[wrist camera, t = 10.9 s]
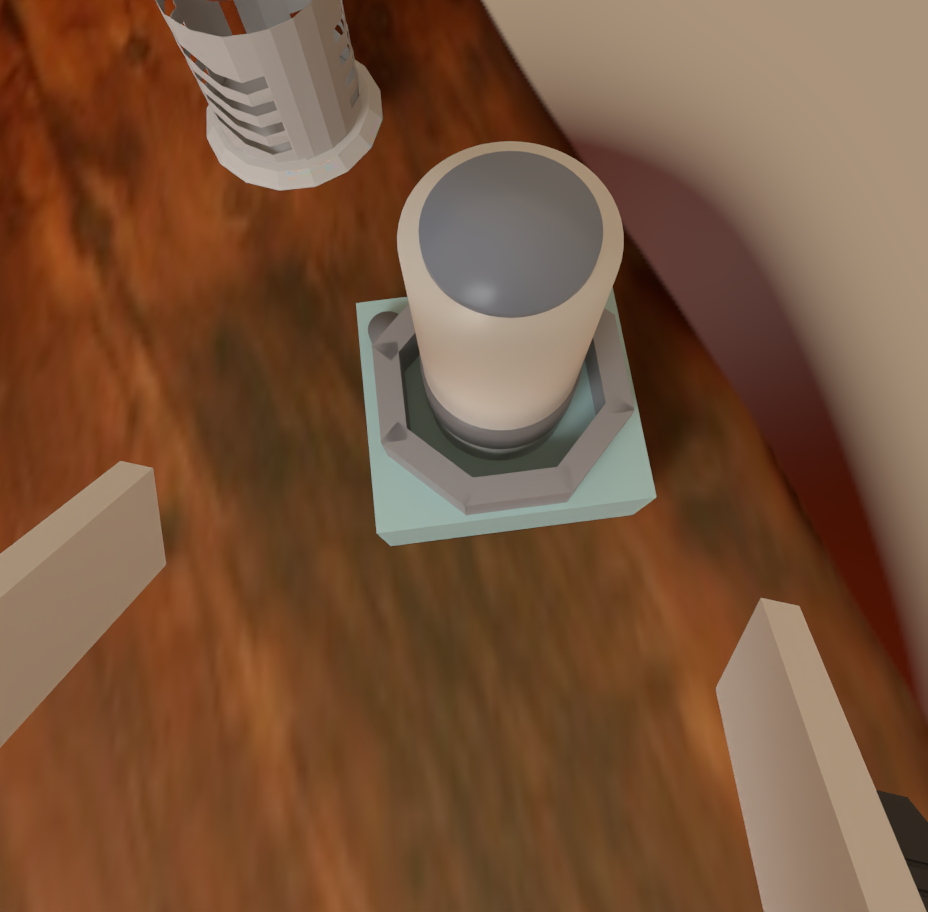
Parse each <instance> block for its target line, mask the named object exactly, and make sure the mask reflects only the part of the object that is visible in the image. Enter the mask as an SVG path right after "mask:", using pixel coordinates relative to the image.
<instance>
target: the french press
mask: <svg viewBox="0 0 928 912" xmlns="http://www.w3.org/2000/svg"><path fill="white" fill-rule="evenodd" d="M155 1H156V3H157V5H158V7H159V9H160V11H161V13H162V15H163V17H164V19H165V20H166V22H167V24H168V25H169V27H170V29H171V31H172V33H173V35H174V37H175V40H176V42H177V44H178V46H179V47H180V45H181V46H183V47H184V52H183V50H182V48H181V47H180V49H181V51H182V52H183V54H184V56H185V58H186V60H187V63H188V65H189V67H190V69H191V71H192V72H193V70H194V71H195V72H196V75H195V74H194V72H193V74H194V76H195V77H196V80H197V82H198V84H199V86H200V88H201V90H202V92H203V94H204V95H205V97H206V99H207V102H208V103H209V105H208V107H207V139H208V141H209V143H210V145H211V147H212V149H213V151H214V153H215V155H216V156H217V158H218V160H219V162H220V164H221V165H223V166H224V167H226V168H227V169H228V170H230V171H231V172H232V173H234V174H235V175H236V176H238V177H239V178H241V179H242V180H243V181H245V182H246V183H251V184H255V185H259V186H263V187H267V188H271V189H275V190H279V191H280V190H289V189H299V188H308V187H316V186H318V185H320V184H322V183H324V182H327V181H329V180H331V179H333V178H335V177H337V176H339V175H341V174H344V173H346V172H348V171H349V170H350V169H351V168H352V167H353V166H354V165H355V164H356V163H357V162H358V161H359V160H360V159H361V158H362V157H363V156H364V155H365V154H366V153H367V152H368V151H369V150H370V149H371V148H372V145H373V143H374V140H375V138H376V135H377V132H378V130H379V127H380V125H381V122H382V120H383V116H382V104H381V93H380V89H379V88H378V86H377V85H376V83H375V81H374V80H373V78H372V77H371V75H370V73H369V72H368V70H367V69H366V67H365V66H364V65H362V64H361V63H359V62H358V61H356V60H355V59H354V53H353V48H352V46H351V42H350V36H349V31H348V25H347V23H346V19H345V14H344V8H343V3H342V0H234V2H235V5H236V7H237V10H238V12H239V15H240V18H241V20H242V23H243V25H244V28H245V30H246V33H247V34H243V35H234V36H233V35H232V33H231V30H230V28H229V26H228V23H227V21H226V19H225V16H224V14H223V11H222V9H221V7H220V4H219V2H218V1H225V0H173V2H174V4H175V6H176V8H175V9H174V11H173V12H172V13H171V15H170V17H168V16H167V15H165V9H164V1H165V0H155ZM341 7H342V11H343V14H342V11H341ZM302 9H303V10H302ZM299 10H301V11H300V12H299V13H298V14H297V15H296V16H294V17H293V18H291V16H290V13H293V12H296V11H299ZM341 19H343V21H344V27H343V25H342V23H341ZM182 23H184V25H185V26H183V25H181V24H182ZM337 25H339V26H340V27H341V29H342V31H343V34H342V35H340V34H339V33H338V32H337V31H336V30H335V27H336V26H337ZM344 29H345V30H344ZM347 33H348V37H347ZM179 44H180V45H179ZM347 44H349V49H350V52H349V49H348V47H347ZM190 53H191V54H192V55H193V56H195V57H196V58H197V61H196V62H195V63H194V62H193V61H192V60H191V59H190ZM352 56H353V58H352ZM205 68H206V69H207V71H208V73H209V75H210V76H208V75H207V74H206V73H204V72H203V71H204V70H205ZM192 69H193V70H192ZM201 77H202V78H203V79H204V80H206V81H207V82H206V84H205V85H204V84H203V83H202V78H201ZM205 93H206V94H205Z"/></svg>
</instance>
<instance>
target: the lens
mask: <svg viewBox="0 0 928 912" xmlns="http://www.w3.org/2000/svg"><path fill="white" fill-rule="evenodd" d="M397 246H398V255H399V260H400V265H401V269H402V274H403V278H404V283H405V288H406V292H407V297H408V301H409V306H410V310H411V315H412V320H413V324H414V329H415V333H416V338H417V342H418V347H419V352H420V355H419V358H420V369H421V374H422V379H423V383H424V387H425V392H426V396H427V399H428V402H429V405H430V407H431V409H432V411H433V415H434V418H435V420H436V422H437V424H438V426H439V428H440V430H441V431H442V433H443V434H444V435H445V437H446V438H447V439H448V440H449V441H450V442H451V443H452V444H454V445H455V446H456V447H457V448H459V449H460V450H462V451H464V452H465V453H468V454H470V455H472V456H475V457H478V458H481V459H486V460H497V461H501V460H510V459H515V458H519V457H522V456H525V455H527V454H529V453H531V452H533V451H535V450H536V449H538V448H539V447H541V446H542V445H543V444H544V443H545V442H546V441H547V440H548V439H549V438H550V437H551V436H552V435H553V433H554V432H555V430H556V429H557V427H558V425H559V423H560V421H561V419H562V417H563V416H564V414H565V413H566V411H567V409H568V407H569V405H570V403H571V400H572V398H573V395H574V393H575V390H576V388H577V385H578V382H579V379H580V376H581V371H582V365H583V361H584V359H585V356H586V354H587V351H588V348H589V346H590V343H591V341H592V338H593V336H594V333H595V330H596V328H597V325H598V323H599V320H600V317H601V315H602V312H603V310H604V307H605V305H606V302H607V299H608V297H609V294H610V292H611V289H612V286H613V284H614V281H615V279H616V276H617V273H618V270H619V267H620V264H621V261H622V255H623V248H624V233H623V226H622V220H621V217H620V214H619V211H618V208H617V206H616V204H615V202H614V199H613V197H612V196H611V194H610V193H609V191H608V190H607V188H606V187H605V185H604V184H603V183H602V182H601V181H600V179H599V178H598V177H597V176H596V175H595V174H594V173H593V172H592V171H590V170H589V169H588V168H587V167H586V166H584V165H583V164H582V163H580V162H579V161H577V160H576V159H574V158H572V157H570V156H568V155H567V154H565V153H563V152H560V151H558V150H555V149H552V148H550V147H546V146H542V145H539V144H534V143H527V142H514V141H505V142H493V143H487V144H482V145H478V146H474V147H471V148H468V149H465V150H463V151H460V152H458V153H456V154H454V155H452V156H450V157H448V158H447V159H445V160H443V161H442V162H440V163H439V164H438V165H436V166H435V167H434V168H432V169H431V170H430V171H429V172H428V173H427V174H426V175H425V176H424V177H423V178H422V179H421V180H420V181H419V182H418V184H417V185H416V186H415V188H414V189H413V190H412V192H411V194H410V195H409V197H408V199H407V201H406V203H405V205H404V208H403V210H402V213H401V217H400V221H399V224H398V234H397Z"/></svg>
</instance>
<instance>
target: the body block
mask: <svg viewBox="0 0 928 912" xmlns="http://www.w3.org/2000/svg"><path fill="white" fill-rule="evenodd" d="M356 309H357V320H358V331H359V343H360V354H361V365H362V376H363V387H364V398H365V409H366V420H367V431H368V442H369V454H370V465H371V476H372V487H373V498H374V509H375V520H376V531H377V534H378V535H379V536H380V537H381V538H382V539H383V540H385V541H386V542H387V543H388V544H389V545H390V546H395V545H403V544H411V543H418V542H426V541H434V540H442V539H449V538H457V537H465V536H473V535H480V534H488V533H496V532H504V531H511V530H519V529H527V528H535V527H542V526H550V525H558V524H565V523H573V522H581V521H589V520H596V519H604V518H612V517H620V516H627V515H633V514H635V513H636V512H637V511H639V510H640V509H641V508H643V507H644V506H645V505H647V504H648V503H650V502H651V501H652V500H654V499H655V498H656V492H655V487H654V482H653V478H652V473H651V468H650V463H649V458H648V454H647V449H646V444H645V439H644V435H643V430H642V425H641V420H640V415H639V411H638V406H637V401H636V396H635V392H634V387H633V382H632V377H631V372H630V368H629V363H628V358H627V353H626V349H625V344H624V339H623V334H622V330H621V325H620V320H619V315H618V310H617V306H616V301H615V296H614V291H613V287H612V289H611V292H610V294H609V297H608V299H607V302H606V305H605V307H604V310H603V312H602V315H601V317H600V320H599V323H598V325H597V328H596V330H595V333H594V336H593V338H592V341H591V343H590V346H589V348H588V351H587V354H586V356H585V359H584V361H583V365H582V371H581V376H580V379H579V382H578V385H577V388H576V390H575V393H574V395H573V398H572V400H571V403H570V405H569V407H568V409H567V411H566V413H565V414H564V416H563V417H562V419H561V421H560V423H559V425H558V427H557V429H556V430H555V432H554V433H553V435H552V436H551V437H550V438H549V439H548V440H547V441H546V442H545V443H544V444H543V445H542V446H541V447H539V448H538V449H536V450H535V451H533V452H531V453H529V454H527V455H525V456H522V457H519V458H515V459H510V460H501V461H497V460H486V459H481V458H478V457H475V456H472V455H470V454H468V453H465V452H464V451H462V450H460V449H459V448H457V447H456V446H455V445H454V444H452V443H451V442H450V441H449V440H448V439H447V438H446V437H445V435H444V434H443V433H442V431H441V430H440V428H439V426H438V424H437V422H436V420H435V418H434V415H433V411H432V409H431V407H430V405H429V402H428V399H427V396H426V392H425V387H424V383H423V379H422V374H421V369H420V358H419V355H420V352H419V347H418V342H417V338H416V333H415V329H414V324H413V320H412V315H411V310H410V306H409V301H408V297H401V298H393V299H385V300H377V301H369V302H361V303H356Z"/></svg>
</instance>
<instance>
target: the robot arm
mask: <svg viewBox="0 0 928 912" xmlns="http://www.w3.org/2000/svg"><path fill="white" fill-rule="evenodd" d="M165 565H166V560H165V553H164V545H163V538H162V531H161V523H160V516H159V508H158V501H157V493H156V486H155V479H154V471H153V468H151V467H146V466H142V465H137V464H132V463H127V462H123V461H120V462H118V463H117V464H116V465H115V466H113V467H112V468H111V469H109V470H108V471H107V472H106V473H104V474H103V475H102V476H100V477H99V478H98V479H96V480H95V481H94V482H93V483H91V484H90V485H89V486H87V487H86V488H85V489H84V490H82V491H81V492H80V493H78V494H77V495H76V496H75V497H73V498H72V499H71V500H69V501H68V502H67V503H65V504H64V505H63V506H62V507H60V508H59V509H58V510H56V511H55V512H54V513H53V514H51V515H50V516H49V517H47V518H46V519H45V520H44V521H42V522H41V523H40V524H38V525H37V526H36V527H34V528H33V529H32V530H31V531H29V532H28V533H27V534H25V535H24V536H23V537H22V538H20V539H19V540H18V541H16V542H15V543H14V544H13V545H11V546H10V547H9V548H7V549H6V550H5V551H3V552H2V553H1V554H0V747H1V746H2V745H3V744H4V743H5V742H6V741H7V740H8V738H9V737H10V736H11V735H12V734H13V733H14V732H15V731H16V730H17V728H18V727H19V726H20V725H21V724H22V723H23V722H24V721H25V720H26V719H27V717H28V716H29V715H30V714H31V713H32V712H33V711H34V710H35V709H36V708H37V706H38V705H39V704H40V703H41V702H42V701H43V700H44V699H45V698H46V696H47V695H48V694H49V693H50V692H51V691H52V690H53V689H54V688H55V687H56V685H57V684H58V683H59V682H60V681H61V680H62V679H63V678H64V677H65V676H66V674H67V673H68V672H69V671H70V670H71V669H72V668H73V667H74V666H75V664H76V663H77V662H78V661H79V660H80V659H81V658H82V657H83V656H84V655H85V653H86V652H87V651H88V650H89V649H90V648H91V647H92V646H93V645H94V644H95V642H96V641H97V640H98V639H99V638H100V637H101V636H102V635H103V634H104V632H105V631H106V630H107V629H108V628H109V627H110V626H111V625H112V624H113V623H114V621H115V620H116V619H117V618H118V617H119V616H120V615H121V614H122V613H123V612H124V610H125V609H126V608H127V607H128V606H129V605H130V604H131V603H132V602H133V600H134V599H135V598H136V597H137V596H138V595H139V594H140V593H141V592H142V591H143V589H144V588H145V587H146V586H147V585H148V584H149V583H150V582H151V581H152V580H153V578H154V577H155V576H156V575H157V574H158V573H159V572H160V571H161V570H162V568H163V567H164V566H165ZM716 693H717V698H718V702H719V707H720V712H721V716H722V721H723V726H724V730H725V735H726V739H727V744H728V749H729V753H730V758H731V763H732V767H733V772H734V776H735V781H736V786H737V790H738V795H739V800H740V804H741V809H742V813H743V818H744V823H745V827H746V832H747V837H748V841H749V846H750V851H751V855H752V860H753V864H754V869H755V874H756V878H757V883H758V888H759V892H760V897H761V901H762V906H763V911H764V912H928V822H927V821H926V820H925V818H924V817H923V816H922V815H921V814H920V812H919V811H918V810H917V809H916V807H915V806H914V805H913V804H912V802H911V801H910V800H909V799H908V797H903V796H899V795H895V794H890V793H886V792H882V791H878V790H876V789H875V787H874V784H873V782H872V779H871V777H870V775H869V772H868V770H867V767H866V765H865V763H864V760H863V758H862V755H861V753H860V751H859V748H858V746H857V743H856V741H855V739H854V736H853V734H852V731H851V729H850V727H849V724H848V722H847V719H846V717H845V715H844V712H843V710H842V707H841V705H840V703H839V700H838V698H837V695H836V693H835V691H834V688H833V686H832V683H831V681H830V679H829V676H828V674H827V671H826V669H825V667H824V664H823V662H822V659H821V657H820V655H819V652H818V650H817V647H816V645H815V643H814V640H813V638H812V635H811V633H810V631H809V628H808V626H807V623H806V621H805V619H804V616H803V614H802V611H801V609H800V607H799V606H797V605H792V604H788V603H783V602H778V601H774V600H769V599H764V598H760V600H759V602H758V604H757V606H756V608H755V610H754V612H753V614H752V616H751V618H750V620H749V622H748V624H747V626H746V628H745V631H744V633H743V635H742V637H741V639H740V641H739V643H738V645H737V647H736V649H735V651H734V653H733V655H732V657H731V659H730V661H729V663H728V665H727V667H726V669H725V671H724V673H723V675H722V677H721V679H720V681H719V683H718V685H717V687H716Z"/></svg>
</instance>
